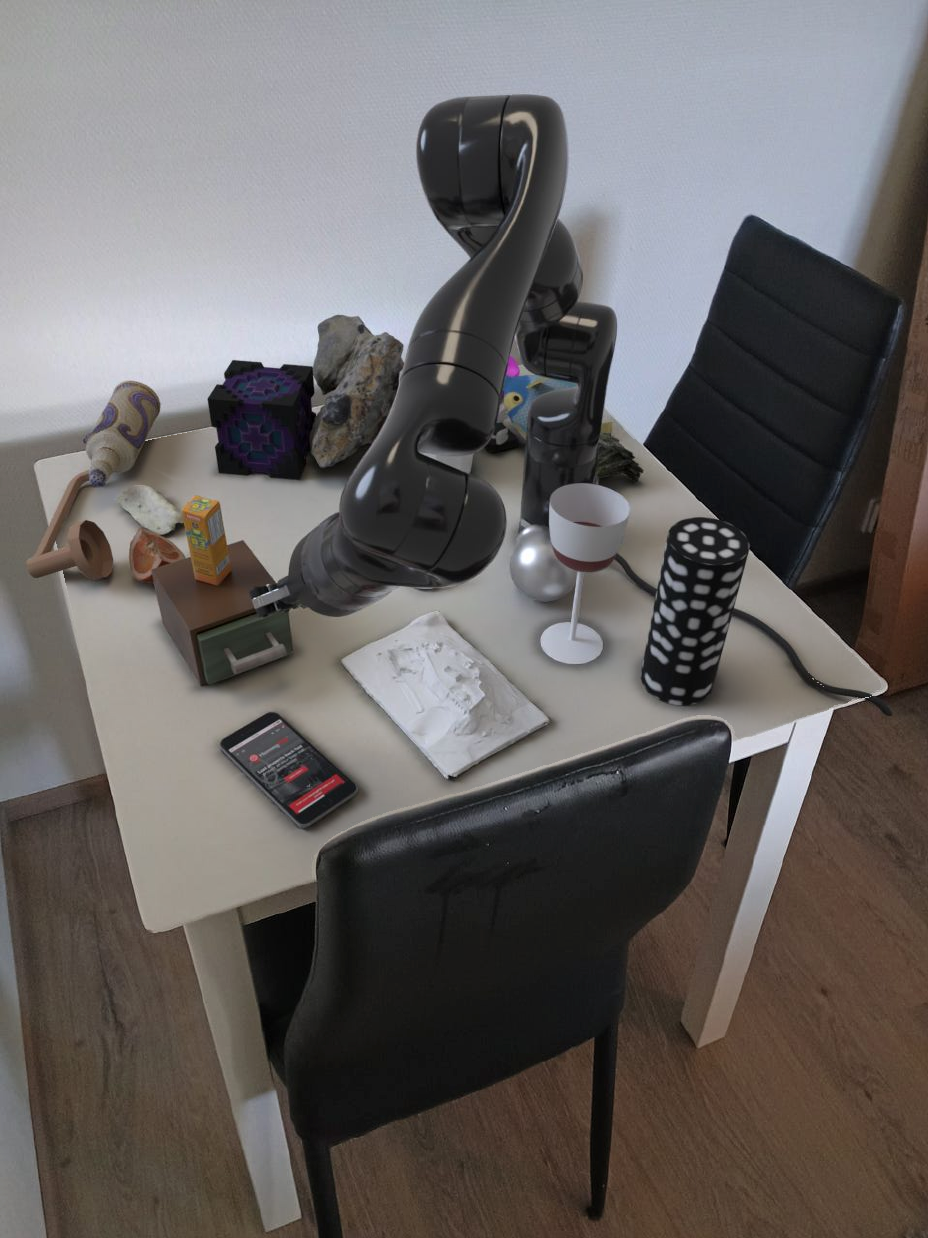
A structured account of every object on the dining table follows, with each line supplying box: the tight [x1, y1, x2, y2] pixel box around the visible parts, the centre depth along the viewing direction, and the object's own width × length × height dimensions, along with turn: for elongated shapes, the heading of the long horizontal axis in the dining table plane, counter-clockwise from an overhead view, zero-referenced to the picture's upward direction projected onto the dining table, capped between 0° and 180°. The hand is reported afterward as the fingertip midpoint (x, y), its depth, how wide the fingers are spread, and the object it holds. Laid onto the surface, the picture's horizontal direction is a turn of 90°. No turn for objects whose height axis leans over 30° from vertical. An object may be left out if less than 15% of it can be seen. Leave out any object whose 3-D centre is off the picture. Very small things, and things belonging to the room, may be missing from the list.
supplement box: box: [180, 494, 232, 586], centre depth 112 cm, size 3×3×10 cm
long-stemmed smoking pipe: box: [26, 469, 114, 581], centre depth 133 cm, size 25×9×8 cm, turn 3°
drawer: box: [196, 612, 293, 686], centre depth 115 cm, size 15×10×7 cm, turn 32°
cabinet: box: [151, 539, 294, 687], centre depth 117 cm, size 12×11×8 cm
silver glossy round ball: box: [509, 525, 578, 602], centre depth 125 cm, size 9×10×10 cm
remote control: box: [484, 422, 518, 453], centre depth 158 cm, size 5×2×15 cm
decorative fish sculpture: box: [503, 374, 613, 441], centre depth 154 cm, size 12×20×15 cm
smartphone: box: [219, 710, 358, 829], centre depth 104 cm, size 7×1×15 cm
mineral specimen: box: [595, 433, 644, 483], centre depth 147 cm, size 15×13×10 cm
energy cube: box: [207, 359, 317, 481], centre depth 147 cm, size 12×12×12 cm
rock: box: [309, 314, 405, 468], centre depth 144 cm, size 25×21×15 cm
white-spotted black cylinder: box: [640, 516, 751, 706], centre depth 110 cm, size 8×8×20 cm
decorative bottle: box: [82, 380, 162, 488], centre depth 146 cm, size 26×8×7 cm, turn 1°
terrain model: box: [340, 610, 550, 780], centre depth 113 cm, size 17×23×5 cm
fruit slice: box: [128, 526, 186, 584], centre depth 127 cm, size 8×7×5 cm
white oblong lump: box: [117, 484, 184, 536], centre depth 138 cm, size 12×5×4 cm
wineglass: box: [539, 483, 631, 665], centre depth 114 cm, size 8×9×20 cm
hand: (295, 596), depth 95 cm, fingers closed
